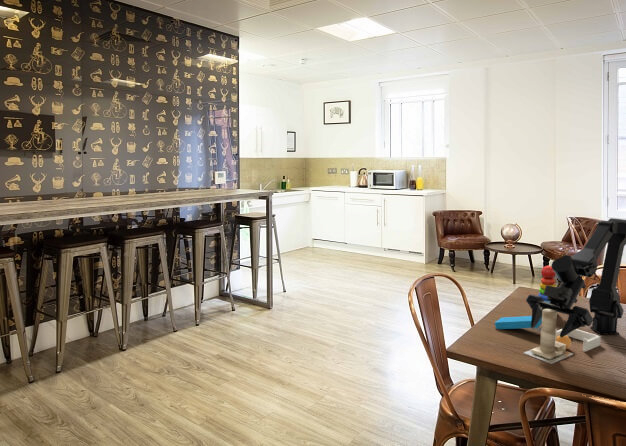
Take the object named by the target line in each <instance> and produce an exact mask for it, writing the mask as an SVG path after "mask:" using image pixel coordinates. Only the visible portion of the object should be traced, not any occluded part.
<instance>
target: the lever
mask: <svg viewBox="0 0 626 446" xmlns="http://www.w3.org/2000/svg"><path fill="white" fill-rule="evenodd" d="M531 320H532V315H526V316H525V315H524V316H507V317H504V316H503V317H500V318H499V319H498V320H496V321H495V322H494V326H495V329H496V330H511V329H513V330H514V329H532V330H535V331H537V332H539V333H541V325H542V317H541V319H540V320H539V322H538V323H537V324H536V326H535V327H534V328H531Z"/></svg>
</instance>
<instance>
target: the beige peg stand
mask: <svg viewBox="0 0 626 446" xmlns="http://www.w3.org/2000/svg"><path fill="white" fill-rule="evenodd" d="M557 316H558V314H557V311H555V310H552V309H543V310H542V324H541V325H540V328H541V332H540V339H539V340H540V341H539V346H537V347H534V348H531V349H530V350H531V352H532V353H535V354H537V355H540V356H543V357H545V358H548V359H551V358H553V357H556V356H558V355H561V354H563V352H565V351H566V350H567V349H566V344H563V343H560V342H557V341H555V334H556V329H557V320H558V317H557Z"/></svg>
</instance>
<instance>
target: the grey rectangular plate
mask: <svg viewBox="0 0 626 446" xmlns="http://www.w3.org/2000/svg"><path fill="white" fill-rule="evenodd" d="M523 354H524V355H526V356H530V357H532V358H534V359H537V360H540V361H542V362H545V363H548V364H551V365H552V364H555V363H557V362H560V361H562V360H564V359H566V358H569V357H571V356H573V355H574V353H573V352H570V351H565V352H563V354H561V355H558V356H556V357H553V358H551V359H548V358H545V357H543V356H540V355H537V354H535V353H532V352H531V349H530V350H526V351H524V352H523Z"/></svg>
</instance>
